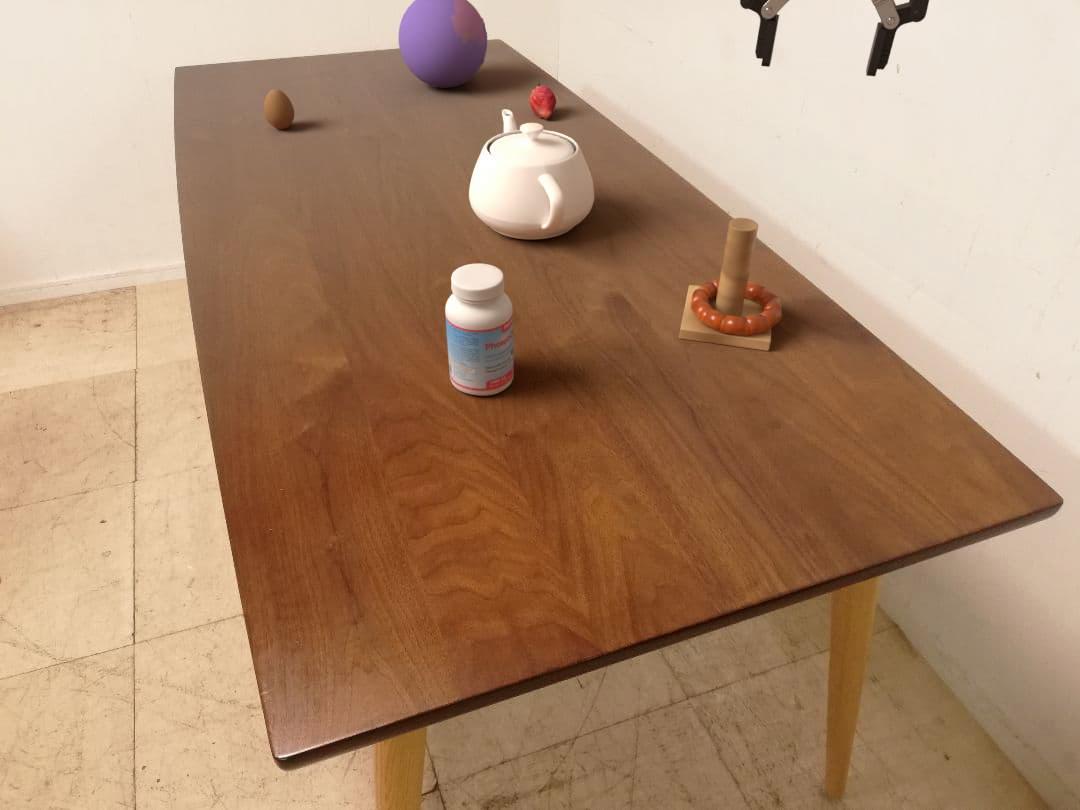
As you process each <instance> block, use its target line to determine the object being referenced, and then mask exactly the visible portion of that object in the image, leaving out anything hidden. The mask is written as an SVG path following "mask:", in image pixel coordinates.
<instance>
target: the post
mask: <svg viewBox="0 0 1080 810" xmlns="http://www.w3.org/2000/svg"><path fill="white" fill-rule="evenodd" d="M758 231H759V223H758V222H757V221H755V220H753V219H750V218H747V217H735V218H732V219H731V220H730V221H729V222H728V227H727V233H726V238H725V244H724V250H723V257H722V262H721V269H720V274H719V279H718V280H719V286H718V292H717V297H715V298H713V299H712V300H710V301H709V304H710V305H711V307H712V308H713V309H715V310H717V311H719V312H721V313H724V314H726V315H730V316H739V317H749V316H755V315H759V314H761V313H762V312H763V311H764V309H763V308H762V307H761V306H760V305H759V304H758V303H757V302H755V301H752V300H750V299H747V298H745V293H746V288H747V283H748V280H749V278H750V272H751V266H752V261H753V257H754V251H755V246H756V241H757V235H758ZM701 286H702V285H695V284H694V285H693V284H689V285H688V289H687V294H686V298H685V304H684V307H683V313H682V318H681V323H680V329H679V336H678V339H680V340H688V341H695V342H701V343H709V344H716V345H722V346H731V347H738V348H743V349H744V348H745V349H751V350H758V351H765V352H769V351H770V347H771V343H772V328H771V329H769V330H768V331H766V332H762V333H756V334H751V335H737V334H729V333H722V332H720V331H717V330H715V329H713V328H711V327H708V326H706V325H704V324H703V323H701V321H700V320H699V319H698V318H697V317H696V316H695V314H694V313H693V312H692V310H691V301H692V294H693V292H694V291H695V290H696V289H698V288H699V287H701Z"/></svg>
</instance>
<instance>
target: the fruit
mask: <svg viewBox="0 0 1080 810" xmlns="http://www.w3.org/2000/svg"><path fill="white" fill-rule="evenodd" d="M556 104H557V98H556V95H555V93H554V92H553V90H552V89H551V88H550V87H549V86H546V85H542V84H541V80H539V81H538V82H537V86H536V88H534V89H532V90H531V93H530V96H529V106H530V108H531V110H532V112H533V113H534V114H535V116H538V118H540V119H543V120H545V121H546V120H548V119H550V118H551V116H552V114H553V111H554V109H555V108H556Z"/></svg>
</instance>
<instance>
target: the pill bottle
mask: <svg viewBox="0 0 1080 810" xmlns="http://www.w3.org/2000/svg"><path fill="white" fill-rule="evenodd" d="M450 283H451V285H450V286H451V287H450V289H451V292H452V294H450V296H449V297H448V298H447V301H446V303H445V307H444V312H445V326H446V327H445V329H446V330H445V331H446V343H447V345H446V346H447V357H448V370H449V371H448V372H449V379H450V382H451V384H452V385H453V387H454V388H456V389H457V391H460V392H462V393H464V394H466V395H472V396H480V397H486V396H494V395H496V394H499V393H501V392H503V391H505V390H506V389H507V388H508V387H510V386H511V384H512V382H513V380H514V376H515V367H514V365H515V364H514V363H515V361H514V352H515V351H514V311H513V310H514V309H513V303H512V301H511V298H510V297H509V295H507V293H505V292H504V291H505V275H504V273H503V271H502V270H501V269H500V268H499V267H496V266H495V265H492V264H487V263H469V264H465V265H461V266H460V267H458V268H456V269H455V270H454V271H453V272H452V274H451V276H450Z"/></svg>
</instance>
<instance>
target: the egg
mask: <svg viewBox="0 0 1080 810" xmlns="http://www.w3.org/2000/svg"><path fill="white" fill-rule="evenodd" d="M263 114H264V117H265V120H266V121H267V122H268V124H270V126H272V127H273V128H275V129H277V130H284V129H285V130H286V129H288V128H289V127H290V126H291V125H292V124H293V121H294V120H295V108H294V106H293V103H292V101H291V100H290V97H288V95H287V94H286V93H285V92H283V90H280V89H278V88H273V89H270V91H268V93H266V96H265V99H264V103H263Z"/></svg>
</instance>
